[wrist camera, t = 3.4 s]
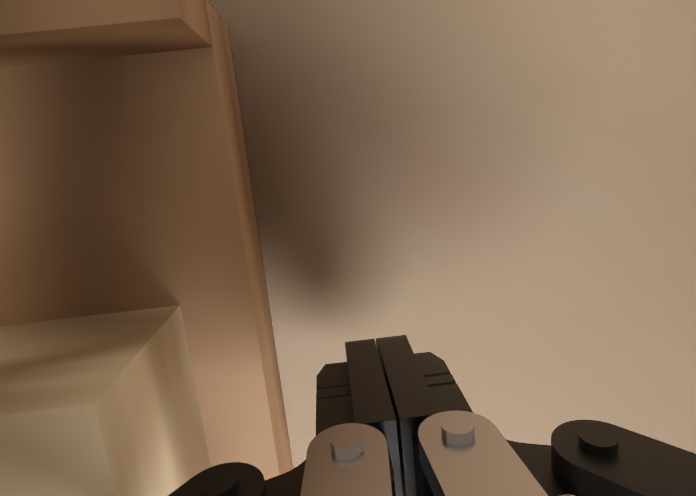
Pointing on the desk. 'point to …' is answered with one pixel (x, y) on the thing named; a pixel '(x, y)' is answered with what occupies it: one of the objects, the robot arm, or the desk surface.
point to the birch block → (99, 406)
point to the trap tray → (139, 195)
